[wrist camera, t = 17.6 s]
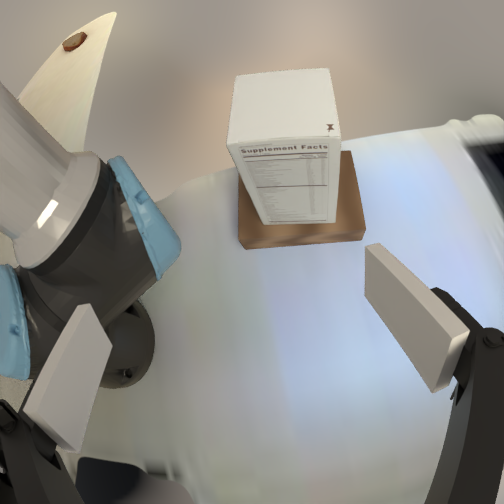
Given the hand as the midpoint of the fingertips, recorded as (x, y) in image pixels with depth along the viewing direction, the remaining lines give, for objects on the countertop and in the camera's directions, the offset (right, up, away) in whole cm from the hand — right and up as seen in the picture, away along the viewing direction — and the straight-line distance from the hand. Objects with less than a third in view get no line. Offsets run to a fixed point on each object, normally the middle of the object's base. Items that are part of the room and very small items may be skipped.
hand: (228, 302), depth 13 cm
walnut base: (+8, +9, +29) cm, 31 cm away
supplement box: (+7, +10, +25) cm, 28 cm away
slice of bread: (-77, +94, +76) cm, 143 cm away
